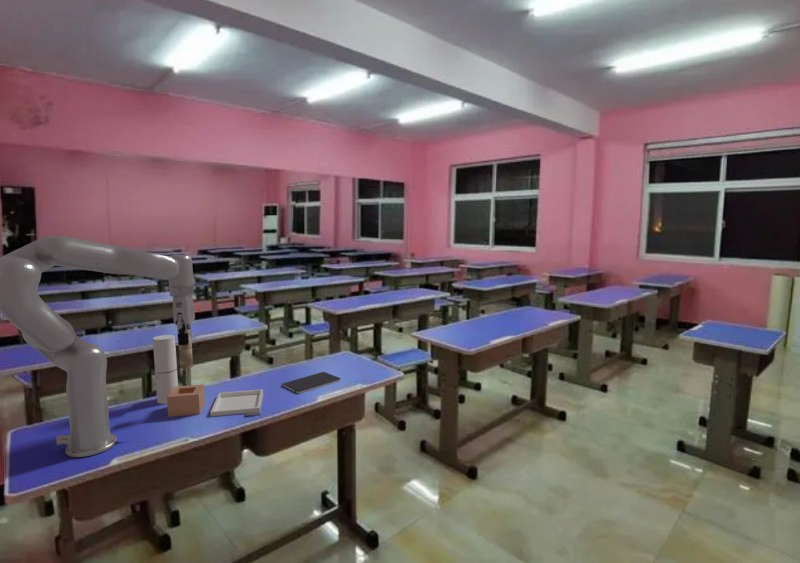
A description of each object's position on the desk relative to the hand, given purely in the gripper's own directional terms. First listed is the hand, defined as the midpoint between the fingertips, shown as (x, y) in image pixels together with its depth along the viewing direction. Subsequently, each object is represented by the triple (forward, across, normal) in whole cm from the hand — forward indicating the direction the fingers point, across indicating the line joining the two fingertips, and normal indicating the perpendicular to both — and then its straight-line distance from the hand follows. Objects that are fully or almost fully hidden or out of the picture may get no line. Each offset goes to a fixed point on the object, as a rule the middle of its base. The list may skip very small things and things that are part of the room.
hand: (185, 342), depth 152 cm
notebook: (+26, +19, -44) cm, 54 cm away
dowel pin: (+9, 0, 0) cm, 9 cm away
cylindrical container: (+25, +11, +10) cm, 29 cm away
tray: (+25, +1, -16) cm, 30 cm away
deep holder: (+25, 0, +1) cm, 25 cm away
